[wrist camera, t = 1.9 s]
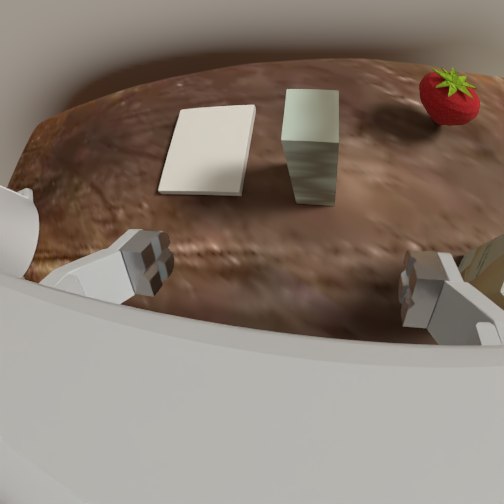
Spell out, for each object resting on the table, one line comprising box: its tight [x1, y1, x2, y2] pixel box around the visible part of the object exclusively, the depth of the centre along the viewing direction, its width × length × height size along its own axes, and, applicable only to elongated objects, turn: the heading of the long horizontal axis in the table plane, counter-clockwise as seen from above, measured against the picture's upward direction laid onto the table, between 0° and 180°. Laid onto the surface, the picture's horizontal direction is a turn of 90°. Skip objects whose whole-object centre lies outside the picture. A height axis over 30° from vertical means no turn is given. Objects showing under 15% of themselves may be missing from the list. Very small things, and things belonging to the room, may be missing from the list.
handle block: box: [281, 89, 339, 206], centre depth 26 cm, size 4×5×12 cm
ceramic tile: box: [158, 105, 256, 196], centre depth 35 cm, size 10×12×1 cm
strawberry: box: [419, 67, 480, 125], centre depth 26 cm, size 6×8×10 cm
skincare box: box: [458, 234, 504, 311], centre depth 20 cm, size 6×4×12 cm
